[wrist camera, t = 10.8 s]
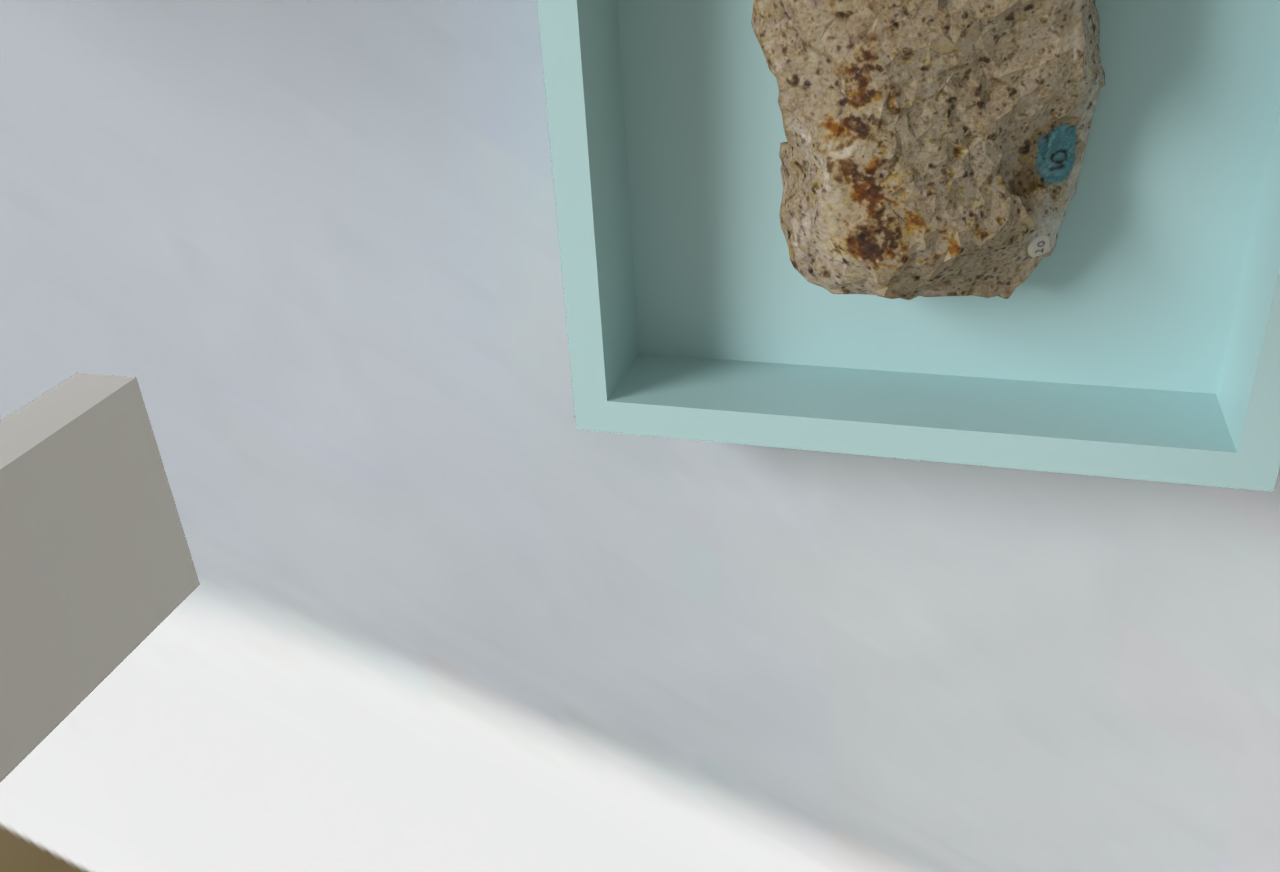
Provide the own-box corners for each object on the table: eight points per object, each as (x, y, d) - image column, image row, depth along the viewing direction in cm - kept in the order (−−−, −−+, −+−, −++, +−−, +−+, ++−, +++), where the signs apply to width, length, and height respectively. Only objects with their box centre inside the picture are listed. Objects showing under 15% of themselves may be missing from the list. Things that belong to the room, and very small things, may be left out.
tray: (568, -311, 27) (506, -327, 23) (1432, -392, 22) (1508, -425, 19) (616, 369, 36) (576, 429, 32) (1244, 416, 31) (1273, 491, 27)
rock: (796, 277, 32) (769, 342, 28) (761, -168, 26) (721, -159, 23) (1089, 268, 29) (1100, 337, 26) (1112, -223, 24) (1130, -223, 20)
